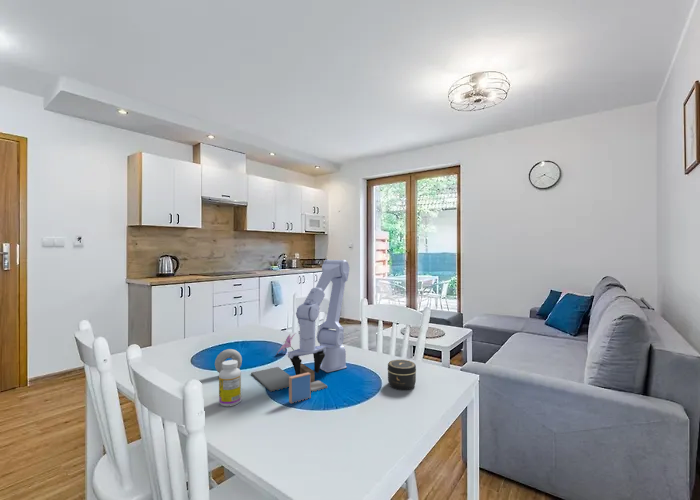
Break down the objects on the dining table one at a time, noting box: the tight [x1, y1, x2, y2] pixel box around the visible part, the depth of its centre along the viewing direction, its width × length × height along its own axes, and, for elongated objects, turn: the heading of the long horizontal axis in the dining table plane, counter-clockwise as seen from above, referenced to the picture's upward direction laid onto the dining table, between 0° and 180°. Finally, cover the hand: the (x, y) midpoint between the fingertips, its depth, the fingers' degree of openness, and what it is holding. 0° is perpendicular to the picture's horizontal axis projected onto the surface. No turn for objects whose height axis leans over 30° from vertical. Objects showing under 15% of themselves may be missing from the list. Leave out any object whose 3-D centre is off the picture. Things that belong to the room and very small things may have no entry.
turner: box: [300, 363, 328, 393], centre depth 125 cm, size 16×6×4 cm, turn 34°
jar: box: [387, 359, 417, 391], centre depth 123 cm, size 10×10×8 cm
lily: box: [275, 333, 296, 356], centre depth 159 cm, size 12×12×10 cm
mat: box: [251, 366, 291, 392], centre depth 129 cm, size 11×20×1 cm, turn 34°
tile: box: [288, 372, 312, 404], centre depth 111 cm, size 7×2×8 cm, turn 125°
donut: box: [214, 348, 243, 374], centre depth 133 cm, size 10×4×10 cm, turn 119°
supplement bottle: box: [218, 359, 242, 407], centre depth 110 cm, size 7×7×13 cm
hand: (307, 374), depth 126 cm, fingers open, 7 cm apart
